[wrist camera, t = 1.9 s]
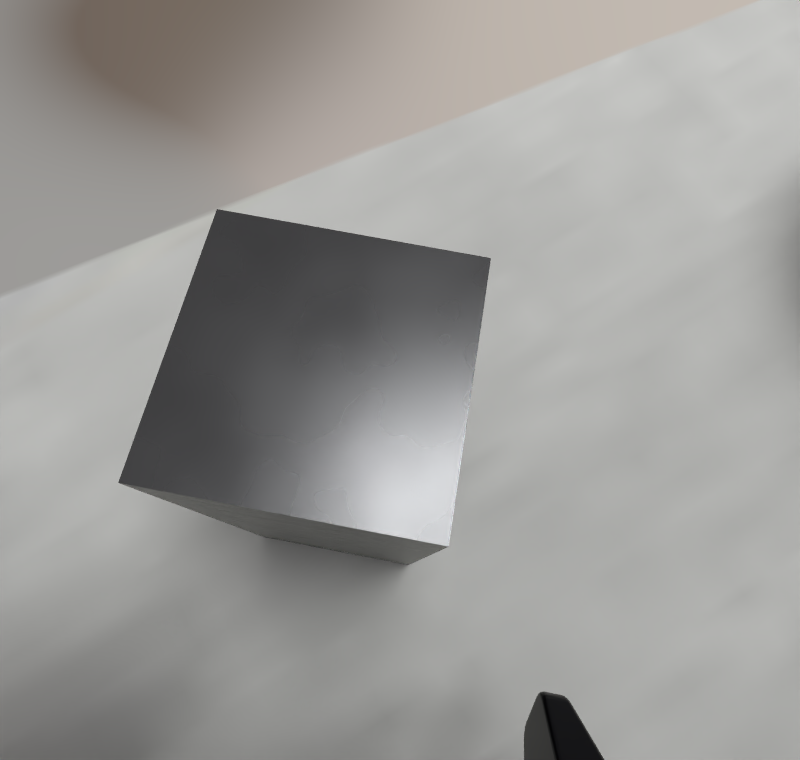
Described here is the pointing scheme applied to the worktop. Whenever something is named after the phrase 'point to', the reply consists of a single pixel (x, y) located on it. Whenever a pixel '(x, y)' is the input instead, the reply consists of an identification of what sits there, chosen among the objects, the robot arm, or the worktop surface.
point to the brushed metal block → (317, 388)
